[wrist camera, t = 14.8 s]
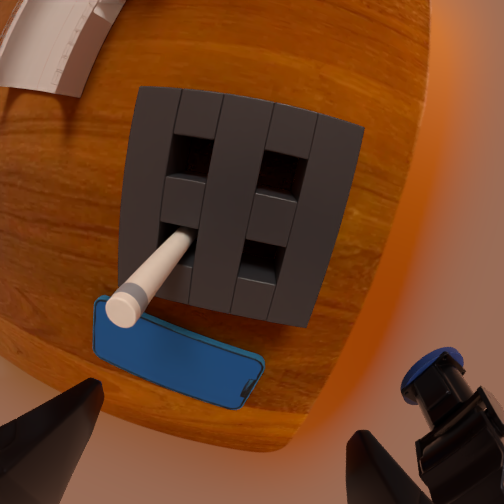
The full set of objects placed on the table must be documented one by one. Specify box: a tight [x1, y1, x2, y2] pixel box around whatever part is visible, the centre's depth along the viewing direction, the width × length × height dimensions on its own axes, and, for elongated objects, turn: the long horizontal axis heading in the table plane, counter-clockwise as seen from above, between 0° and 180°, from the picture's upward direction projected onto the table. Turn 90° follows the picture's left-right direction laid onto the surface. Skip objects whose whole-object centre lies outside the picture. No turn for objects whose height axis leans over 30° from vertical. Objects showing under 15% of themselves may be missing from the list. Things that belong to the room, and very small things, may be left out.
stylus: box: [106, 226, 199, 328], centre depth 14 cm, size 1×1×11 cm
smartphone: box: [93, 295, 265, 410], centre depth 22 cm, size 7×1×15 cm
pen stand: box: [118, 86, 365, 328], centre depth 16 cm, size 12×12×4 cm
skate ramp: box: [0, 0, 126, 98], centre depth 10 cm, size 15×13×5 cm
